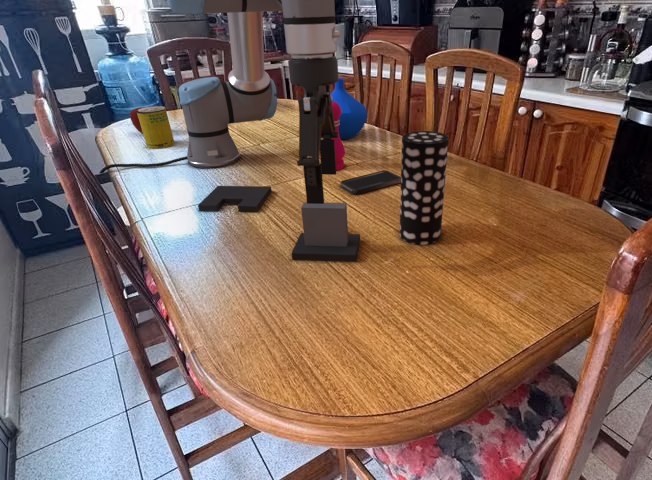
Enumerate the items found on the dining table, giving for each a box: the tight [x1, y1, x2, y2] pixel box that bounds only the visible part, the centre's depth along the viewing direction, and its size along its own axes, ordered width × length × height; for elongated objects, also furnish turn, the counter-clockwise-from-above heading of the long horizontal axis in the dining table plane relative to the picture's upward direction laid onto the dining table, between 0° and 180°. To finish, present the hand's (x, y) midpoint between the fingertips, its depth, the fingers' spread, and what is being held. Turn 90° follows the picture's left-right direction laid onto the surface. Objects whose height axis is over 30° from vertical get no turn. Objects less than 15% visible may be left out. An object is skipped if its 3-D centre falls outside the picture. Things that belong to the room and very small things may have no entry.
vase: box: [330, 77, 368, 140], centre depth 145 cm, size 18×18×19 cm
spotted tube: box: [399, 130, 450, 246], centre depth 80 cm, size 8×8×20 cm
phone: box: [339, 169, 401, 195], centre depth 109 cm, size 8×1×15 cm
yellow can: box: [136, 105, 175, 150], centre depth 142 cm, size 9×9×12 cm
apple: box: [129, 106, 146, 135], centre depth 155 cm, size 10×10×10 cm
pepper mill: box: [330, 95, 346, 171], centre depth 116 cm, size 7×7×20 cm
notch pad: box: [197, 185, 273, 213], centre depth 101 cm, size 14×12×2 cm
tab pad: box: [290, 201, 361, 263], centre depth 80 cm, size 12×12×10 cm
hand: (322, 187), depth 74 cm, fingers open, 13 cm apart
